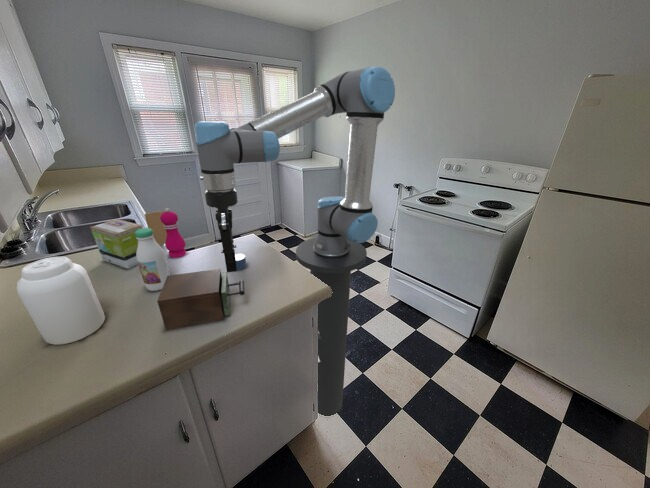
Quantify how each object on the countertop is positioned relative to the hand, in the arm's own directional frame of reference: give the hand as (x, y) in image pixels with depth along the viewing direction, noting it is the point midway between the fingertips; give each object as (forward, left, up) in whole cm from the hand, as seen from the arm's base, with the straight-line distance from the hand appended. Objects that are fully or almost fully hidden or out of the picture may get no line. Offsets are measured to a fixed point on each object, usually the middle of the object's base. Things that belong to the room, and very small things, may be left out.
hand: (232, 270), depth 77 cm
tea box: (+41, -41, -12) cm, 59 cm away
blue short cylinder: (-1, -24, -12) cm, 27 cm away
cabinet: (+11, 0, -12) cm, 16 cm away
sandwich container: (+33, -61, -12) cm, 70 cm away
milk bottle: (+25, -18, -12) cm, 33 cm away
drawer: (+6, 0, -11) cm, 13 cm away
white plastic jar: (+41, -1, -12) cm, 43 cm away
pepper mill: (+23, -41, -12) cm, 49 cm away
